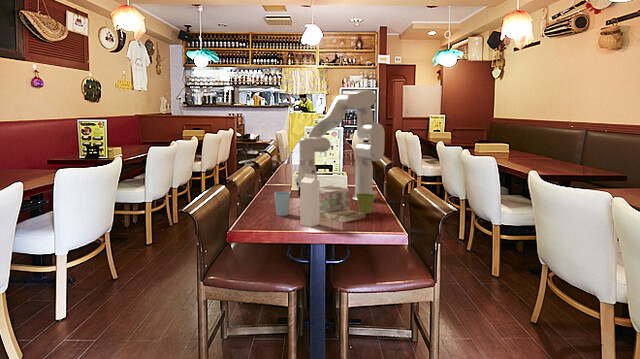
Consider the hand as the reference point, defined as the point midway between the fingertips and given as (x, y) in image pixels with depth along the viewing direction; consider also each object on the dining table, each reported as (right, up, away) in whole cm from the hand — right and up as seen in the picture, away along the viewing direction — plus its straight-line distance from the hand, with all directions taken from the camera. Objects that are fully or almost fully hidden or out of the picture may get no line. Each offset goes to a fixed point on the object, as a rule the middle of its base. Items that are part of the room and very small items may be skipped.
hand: (306, 197), depth 234 cm
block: (+11, -6, -11) cm, 16 cm away
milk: (+2, -11, -32) cm, 34 cm away
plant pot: (+29, -7, -8) cm, 31 cm away
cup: (-11, -8, -13) cm, 19 cm away
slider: (+6, -5, -6) cm, 10 cm away
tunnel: (+12, -8, -11) cm, 18 cm away
